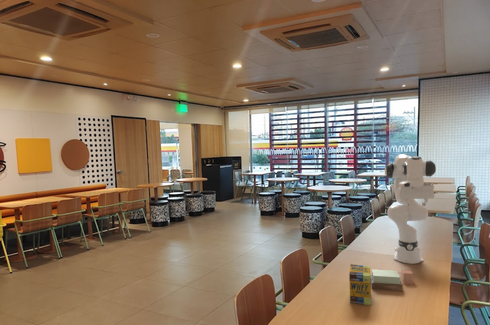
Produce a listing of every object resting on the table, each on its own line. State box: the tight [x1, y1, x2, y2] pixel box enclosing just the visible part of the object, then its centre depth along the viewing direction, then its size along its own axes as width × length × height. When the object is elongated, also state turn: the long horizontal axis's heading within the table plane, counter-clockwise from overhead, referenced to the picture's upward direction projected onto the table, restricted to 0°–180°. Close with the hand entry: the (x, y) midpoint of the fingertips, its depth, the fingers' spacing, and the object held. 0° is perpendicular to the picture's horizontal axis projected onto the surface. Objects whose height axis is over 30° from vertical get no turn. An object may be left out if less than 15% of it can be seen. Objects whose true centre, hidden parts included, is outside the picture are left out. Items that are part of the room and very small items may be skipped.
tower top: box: [371, 268, 401, 284], centre depth 189 cm, size 10×14×4 cm
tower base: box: [370, 274, 404, 292], centre depth 189 cm, size 12×16×4 cm
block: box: [401, 269, 414, 285], centre depth 193 cm, size 5×5×6 cm
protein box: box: [348, 263, 372, 306], centre depth 175 cm, size 10×15×16 cm
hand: (415, 206), depth 195 cm, fingers open, 8 cm apart
